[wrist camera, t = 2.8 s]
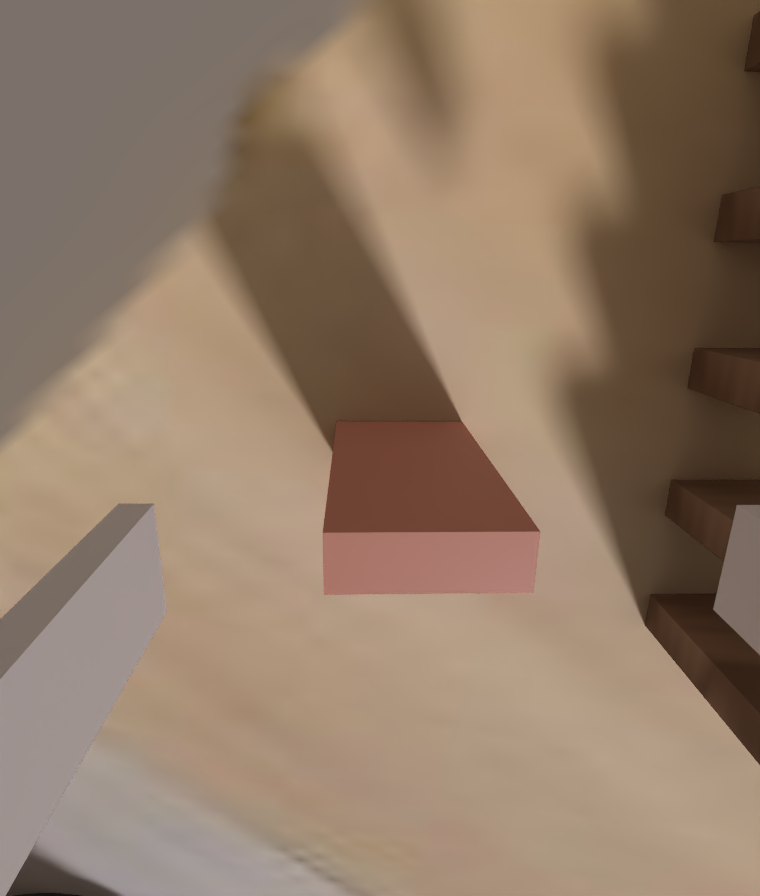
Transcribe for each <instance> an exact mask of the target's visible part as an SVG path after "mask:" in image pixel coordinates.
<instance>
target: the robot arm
mask: <svg viewBox="0 0 760 896" xmlns="http://www.w3.org/2000/svg"><path fill="white" fill-rule="evenodd" d="M713 610H714V611H715V612H716V613H717V614H718V615H719V616H720V617H721V618H722V619H723V620H724V621H726V622H727V623H728V624H729V625H730V626H731V627H732V628H733V629H734V630H735V631H736V632H737V633H738V634H739V635H740V636H741V637H742V638H743V639H744V640H745V641H746V642H747V643H748V644H749V645H750V646H751V647H752V648H753V649H754V650H755V651H756V652H757V653H758V654H759V655H760V505H737V507H736V511H735V516H734V520H733V524H732V529H731V533H730V537H729V542H728V546H727V551H726V555H725V559H724V564H723V568H722V573H721V577H720V581H719V586H718V590H717V595H716V599H715V603H714V608H713ZM166 612H167V610H166V601H165V593H164V584H163V576H162V568H161V559H160V551H159V542H158V534H157V525H156V517H155V508H154V504H118V505H117V506H116V507H115V508H114V509H113V510H112V511H111V512H110V513H109V514H108V515H107V516H106V517H105V518H104V519H103V520H102V521H101V522H100V523H98V524H97V525H96V526H95V527H94V528H93V529H92V530H91V531H90V532H89V533H88V534H87V535H86V536H85V537H84V538H83V539H82V540H81V541H80V542H79V543H78V544H77V545H76V546H75V547H74V548H73V549H72V550H71V551H70V552H69V553H68V554H67V555H66V556H65V557H64V558H63V559H62V560H61V561H60V562H59V563H58V564H57V565H56V566H54V567H53V568H52V569H51V570H50V571H49V572H48V573H47V574H46V575H45V576H44V577H43V578H42V579H41V580H40V581H39V582H38V583H37V584H36V585H35V586H34V587H33V588H32V589H31V590H30V591H29V592H28V593H27V594H26V595H25V596H24V597H23V598H22V599H21V600H20V601H19V602H18V603H17V604H16V605H15V606H14V607H13V608H11V609H10V610H9V611H8V612H7V613H6V614H5V615H4V616H3V617H2V618H1V619H0V896H6V894H7V893H8V891H9V889H10V887H11V885H12V884H13V882H14V880H15V878H16V877H17V875H18V873H19V871H20V870H21V868H22V866H23V864H24V863H25V861H26V859H27V857H28V855H29V854H30V852H31V850H32V848H33V847H34V845H35V843H36V841H37V840H38V838H39V836H40V834H41V833H42V831H43V829H44V827H45V825H46V824H47V822H48V820H49V818H50V817H51V815H52V813H53V811H54V810H55V808H56V806H57V804H58V803H59V801H60V799H61V797H62V795H63V794H64V792H65V790H66V788H67V787H68V785H69V783H70V781H71V780H72V778H73V776H74V774H75V773H76V771H77V769H78V767H79V765H80V764H81V762H82V760H83V758H84V757H85V755H86V753H87V751H88V750H89V748H90V746H91V744H92V743H93V741H94V739H95V737H96V735H97V734H98V732H99V730H100V728H101V727H102V725H103V723H104V721H105V720H106V718H107V716H108V714H109V713H110V711H111V709H112V707H113V705H114V704H115V702H116V700H117V698H118V697H119V695H120V693H121V691H122V690H123V688H124V686H125V684H126V683H127V681H128V679H129V677H130V675H131V674H132V672H133V670H134V668H135V667H136V665H137V663H138V661H139V660H140V658H141V656H142V654H143V653H144V651H145V649H146V647H147V645H148V644H149V642H150V640H151V638H152V637H153V635H154V633H155V631H156V630H157V628H158V626H159V624H160V623H161V621H162V619H163V617H164V615H165V614H166ZM16 896H79V895H72V894H60V893H36V894H24V895H16Z"/></svg>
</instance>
